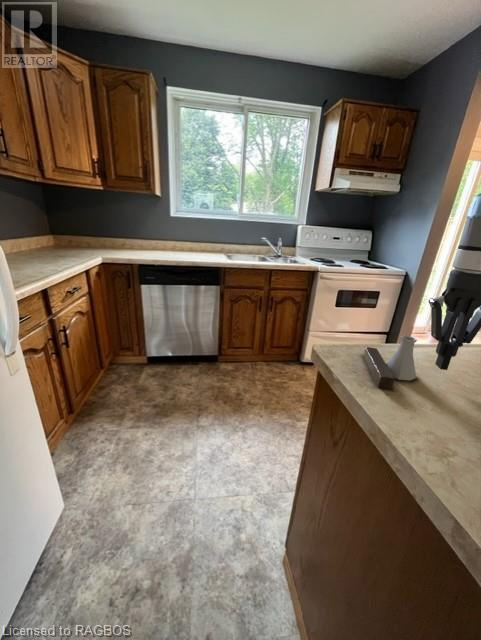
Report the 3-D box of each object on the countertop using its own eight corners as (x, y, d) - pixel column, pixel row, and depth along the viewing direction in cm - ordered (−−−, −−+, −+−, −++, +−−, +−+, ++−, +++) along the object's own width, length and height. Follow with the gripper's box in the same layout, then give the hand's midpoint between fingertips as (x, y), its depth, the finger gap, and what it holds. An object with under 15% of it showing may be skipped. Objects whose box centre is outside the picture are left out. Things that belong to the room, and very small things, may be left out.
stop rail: (374, 357, 77) (376, 348, 76) (391, 389, 63) (395, 378, 61) (363, 356, 78) (365, 346, 77) (377, 387, 63) (380, 376, 62)
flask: (376, 367, 72) (385, 333, 68) (399, 365, 74) (409, 331, 70) (397, 382, 65) (408, 345, 62) (422, 380, 67) (433, 343, 64)
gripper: (447, 271, 56) (418, 371, 64) (521, 276, 54) (480, 378, 62) (431, 266, 63) (406, 356, 71) (496, 270, 60) (462, 363, 69)
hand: (441, 366), depth 66 cm, fingers closed
